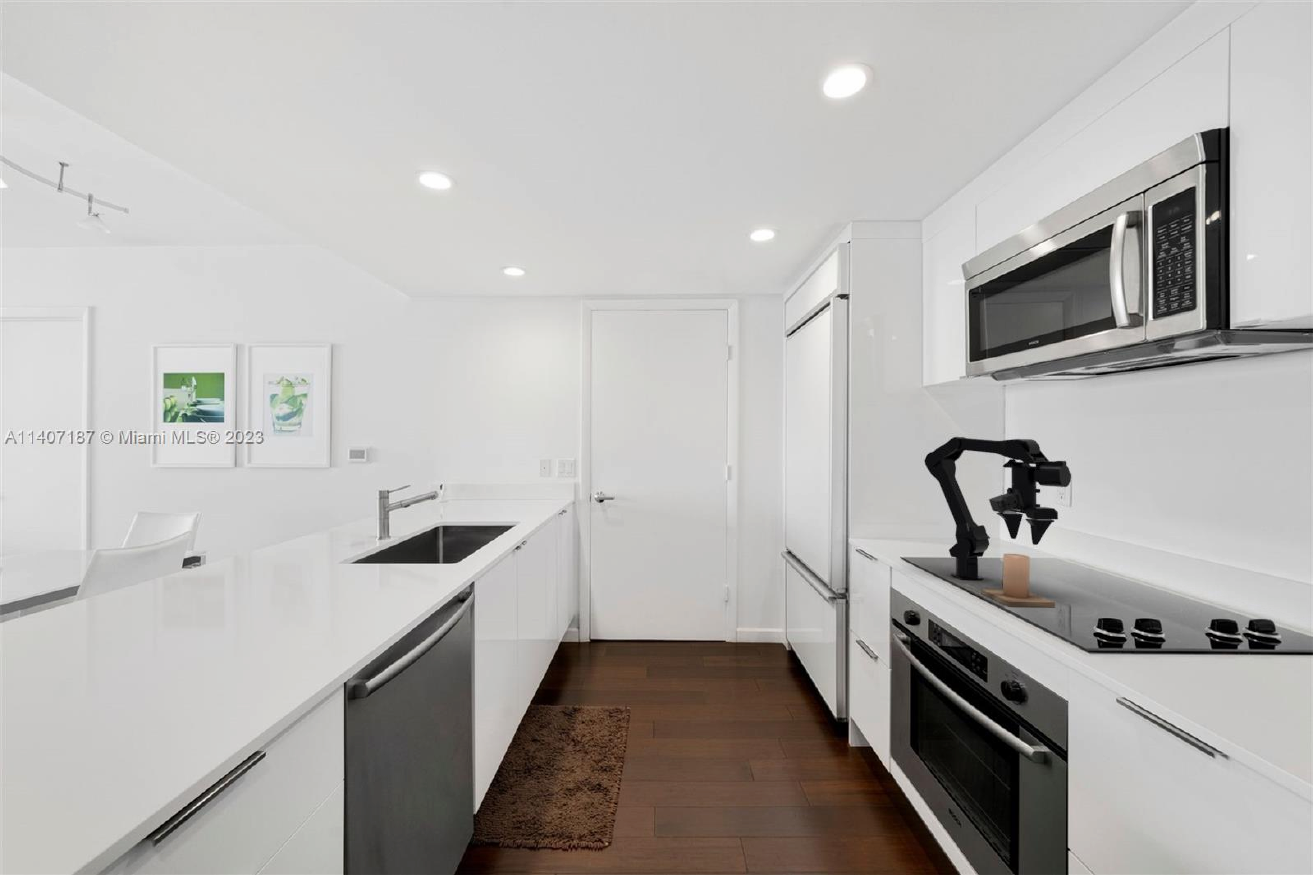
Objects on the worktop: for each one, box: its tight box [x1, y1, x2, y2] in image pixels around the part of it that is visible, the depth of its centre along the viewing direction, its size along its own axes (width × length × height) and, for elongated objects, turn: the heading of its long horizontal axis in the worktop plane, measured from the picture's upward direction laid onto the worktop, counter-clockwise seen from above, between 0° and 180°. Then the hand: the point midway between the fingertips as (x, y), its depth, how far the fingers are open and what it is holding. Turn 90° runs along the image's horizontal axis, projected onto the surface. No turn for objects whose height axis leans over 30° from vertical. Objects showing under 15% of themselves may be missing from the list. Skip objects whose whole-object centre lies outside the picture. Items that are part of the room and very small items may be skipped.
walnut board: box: [980, 588, 1056, 608], centre depth 141 cm, size 12×11×1 cm
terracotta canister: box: [1002, 553, 1031, 598], centre depth 141 cm, size 6×6×10 cm
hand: (1024, 541), depth 152 cm, fingers open, 9 cm apart
